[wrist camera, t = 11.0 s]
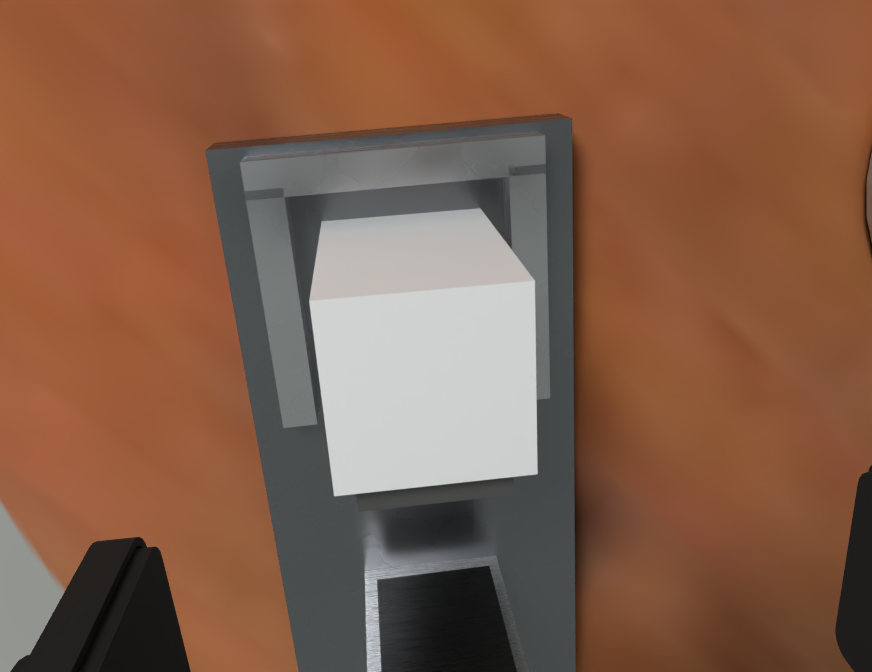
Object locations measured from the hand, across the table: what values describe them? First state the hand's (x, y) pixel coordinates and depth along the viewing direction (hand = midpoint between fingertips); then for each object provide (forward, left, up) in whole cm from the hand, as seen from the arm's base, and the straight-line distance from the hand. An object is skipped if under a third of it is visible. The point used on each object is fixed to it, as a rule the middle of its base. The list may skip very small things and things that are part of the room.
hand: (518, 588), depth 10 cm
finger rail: (+1, +6, -15) cm, 16 cm away
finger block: (+1, 0, -13) cm, 13 cm away
